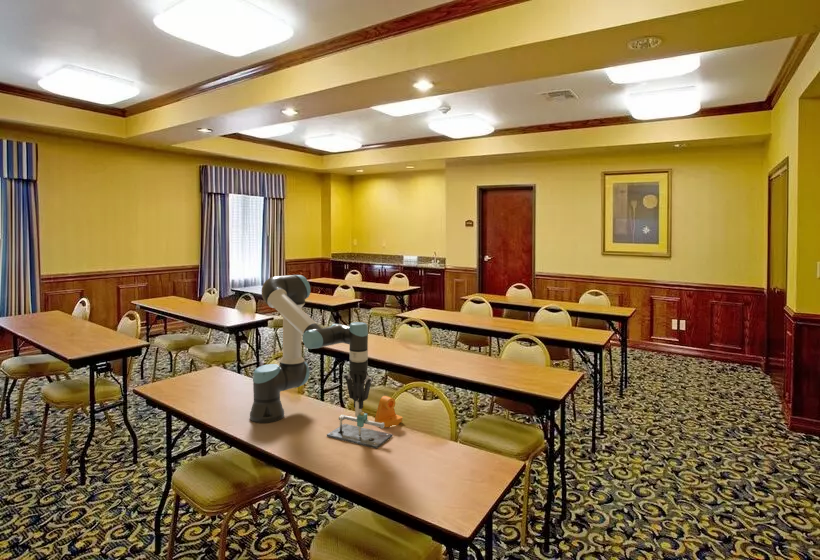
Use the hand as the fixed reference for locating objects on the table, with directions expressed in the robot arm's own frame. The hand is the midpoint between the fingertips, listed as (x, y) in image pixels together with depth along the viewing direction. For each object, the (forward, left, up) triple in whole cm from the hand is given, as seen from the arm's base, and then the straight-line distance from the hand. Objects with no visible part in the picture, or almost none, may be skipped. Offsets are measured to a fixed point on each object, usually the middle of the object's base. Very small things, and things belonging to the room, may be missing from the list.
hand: (358, 415), depth 198 cm
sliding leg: (+2, 0, -8) cm, 8 cm away
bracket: (+5, +18, -9) cm, 21 cm away
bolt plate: (+1, 0, -9) cm, 9 cm away
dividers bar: (+1, -1, -8) cm, 8 cm away
